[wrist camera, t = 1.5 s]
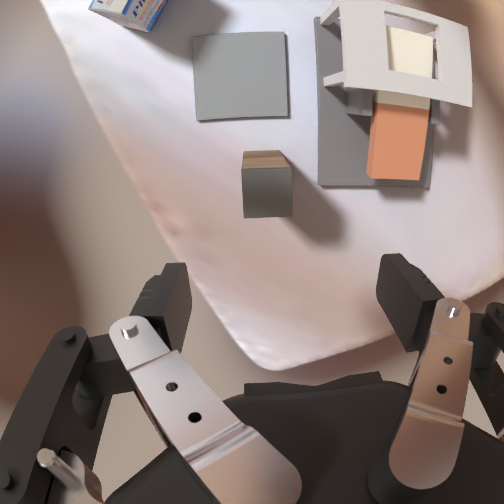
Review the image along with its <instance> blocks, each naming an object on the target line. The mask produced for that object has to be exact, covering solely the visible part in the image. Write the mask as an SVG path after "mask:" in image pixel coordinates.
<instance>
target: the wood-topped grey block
mask: <svg viewBox="0 0 504 504" xmlns="http://www.w3.org/2000/svg"><path fill="white" fill-rule="evenodd" d="M241 173H242V192H243V210H244V218H264V217H292V169H291V167H290V166H289V164H288V163H287V161H286V160H285V158H284V157H283V155H282V154H281V152H280V151H279V150H271V151H244V153H243V161H242V170H241Z"/></svg>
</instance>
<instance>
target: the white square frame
mask: <svg viewBox="0 0 504 504" xmlns="http://www.w3.org/2000/svg"><path fill="white" fill-rule="evenodd" d="M384 13H386V14H390V15H395V16H399V17H403V18H407V19H411V20H415V21H419V22H422V23H426V24H429V25H433V26H435V31H433V32H429V33H426V34H423V35H426V36H430V37H433V43H434V42H436V46H437V62H438V80H437V79H434V58H433V65H432V78H428V77H424V76H419V75H414V74H409V73H403V72H398V71H392V70H388V50H387V36H386V24H385V14H384ZM339 16H340V19H337V18H338V17H339ZM314 28H315V45H316V65H317V94H318V184H319V185H359V186H402V187H425V188H429V184H430V175H431V165H432V153H433V138H434V124H439V101H444V102H449V103H453V104H457V105H461V106H465V107H471V108H472V68H471V53H470V41H469V32H468V27H466V26H464V25H461V24H459V23H456V22H453V21H450V20H448V19H445V18H442V17H439V16H436V15H433V14H429V13H426V12H423V11H419V10H416V9H412V8H409V7H405V6H401V5H397V4H393V3H388V2H384V1H379V0H335V1H334V2H333V3H332V4H331V5H330V6H329V7H328V9H327V10H326V11H325V12H324V13H323V14H322V15H321V17H315V18H314ZM373 90H378V91H386V92H394V93H400V94H407V95H413V96H419V97H424V98H429V99H430V108H429V117H428V126H427V134H426V141H425V148H424V154H423V161H422V166H421V172H420V178H419V180H404V179H378V178H370V177H369V176H368V175H367V173H366V169H367V159H368V150H369V139H370V127H371V116H372V96H373Z"/></svg>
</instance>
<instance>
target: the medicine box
mask: <svg viewBox="0 0 504 504" xmlns="http://www.w3.org/2000/svg"><path fill="white" fill-rule="evenodd" d="M167 1H168V0H93V1H92V3H91V4H90V6H89V8H88V9H89V10H91V11H93V12H95V13H97V14H99V15H101V16H103V17H106V18H108V19H110V20H111V21H113V22H115V23H117V24H119V25H121V26H125V27H129V28H133V29H137V30H141V31H144V32H150V31H151V29H152V27H153V25H154V23H155V21H156V20H157V18H158V16H159V14H160V13H161V11H162V9H163V7H164V6H165V4H166V2H167Z"/></svg>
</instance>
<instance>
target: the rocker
mask: <svg viewBox="0 0 504 504" xmlns="http://www.w3.org/2000/svg"><path fill="white" fill-rule="evenodd" d="M386 36H387V50H388V70H392V71H398V72H403V73H409V74H414V75H419V76H424V77H428V78H432V65H433V37H430V36H426V35H423V34H419V33H415V32H411V31H407V30H403V29H398V28H393V27H389V26H386ZM429 108H430V99H429V98H424V97H419V96H413V95H407V94H400V93H394V92H386V91H378V90H373V96H372V116H371V127H370V139H369V150H368V159H367V169H366V173H367V175H368V176H369V177H370V178H378V179H404V180H419V178H420V172H421V166H422V161H423V154H424V148H425V141H426V134H427V126H428V117H429Z"/></svg>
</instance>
